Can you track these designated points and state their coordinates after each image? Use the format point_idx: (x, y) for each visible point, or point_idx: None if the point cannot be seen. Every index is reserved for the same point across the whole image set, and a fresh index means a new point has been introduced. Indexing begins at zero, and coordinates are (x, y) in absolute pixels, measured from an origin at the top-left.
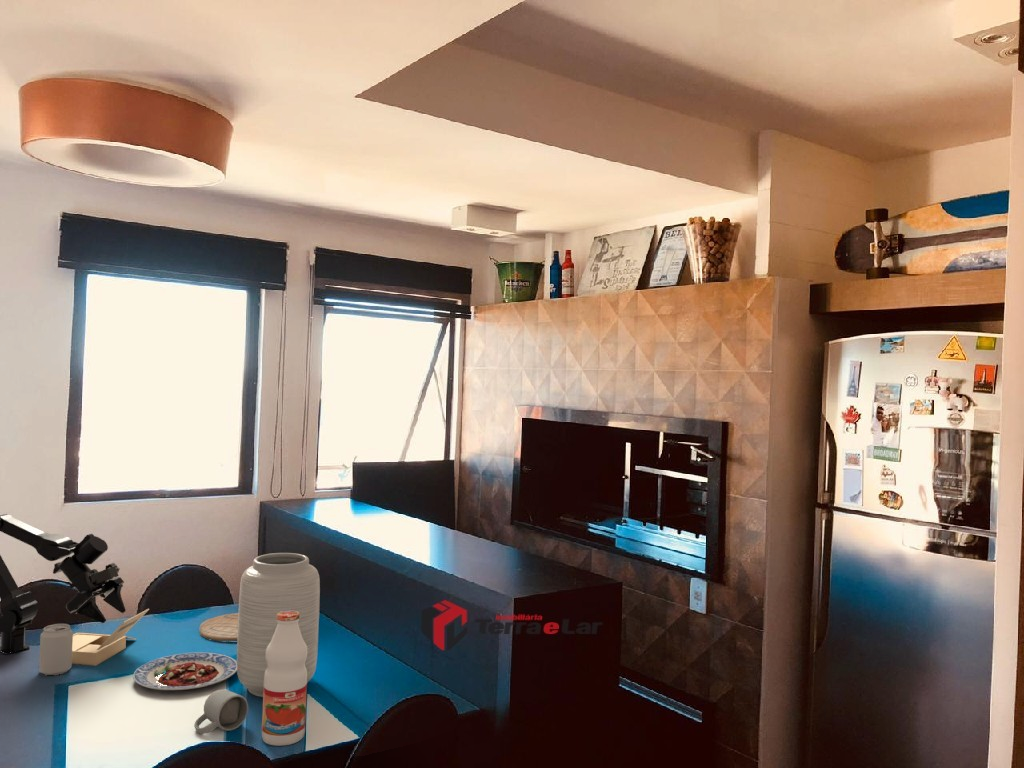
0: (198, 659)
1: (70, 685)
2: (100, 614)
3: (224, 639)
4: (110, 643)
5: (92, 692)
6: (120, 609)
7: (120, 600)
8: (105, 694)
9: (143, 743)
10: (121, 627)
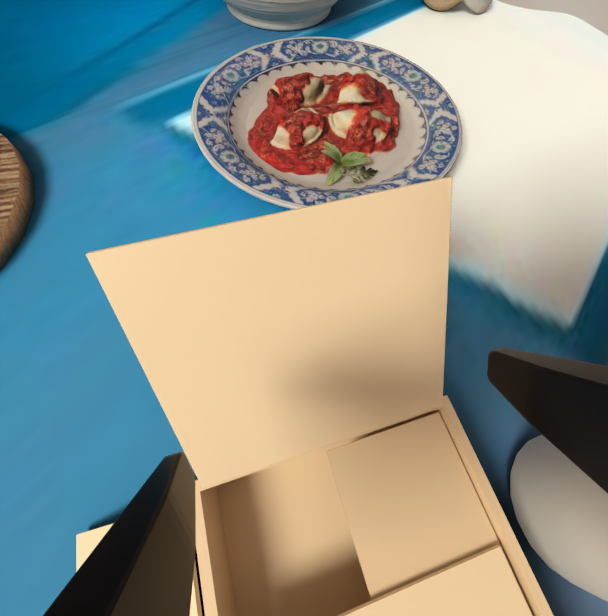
0: (234, 144)
1: (567, 322)
2: (603, 366)
3: (26, 188)
4: (225, 570)
5: (538, 232)
6: (187, 516)
7: (91, 613)
8: (518, 199)
9: (561, 39)
10: (404, 259)
